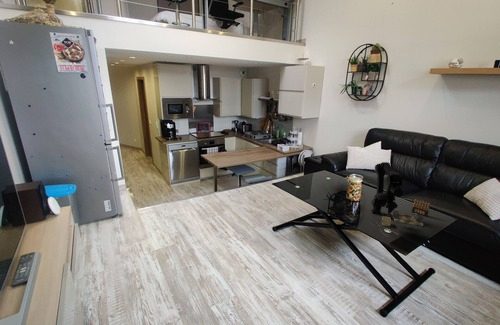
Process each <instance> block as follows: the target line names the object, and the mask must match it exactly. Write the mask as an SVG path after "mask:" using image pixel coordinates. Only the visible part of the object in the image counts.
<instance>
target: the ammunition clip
mask: <svg viewBox="0 0 500 325" xmlns="http://www.w3.org/2000/svg"><path fill="white" fill-rule="evenodd" d="M429 210H430V202H428V201H426V202H425V201H424V200H422V199H418V200H417V198H415V199H414V202H413V204H412V209H411V213H412V214H415V215H417V214H420V215H422V216H423V217H425V218H428V217H429V212H430V211H429Z"/></svg>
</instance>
